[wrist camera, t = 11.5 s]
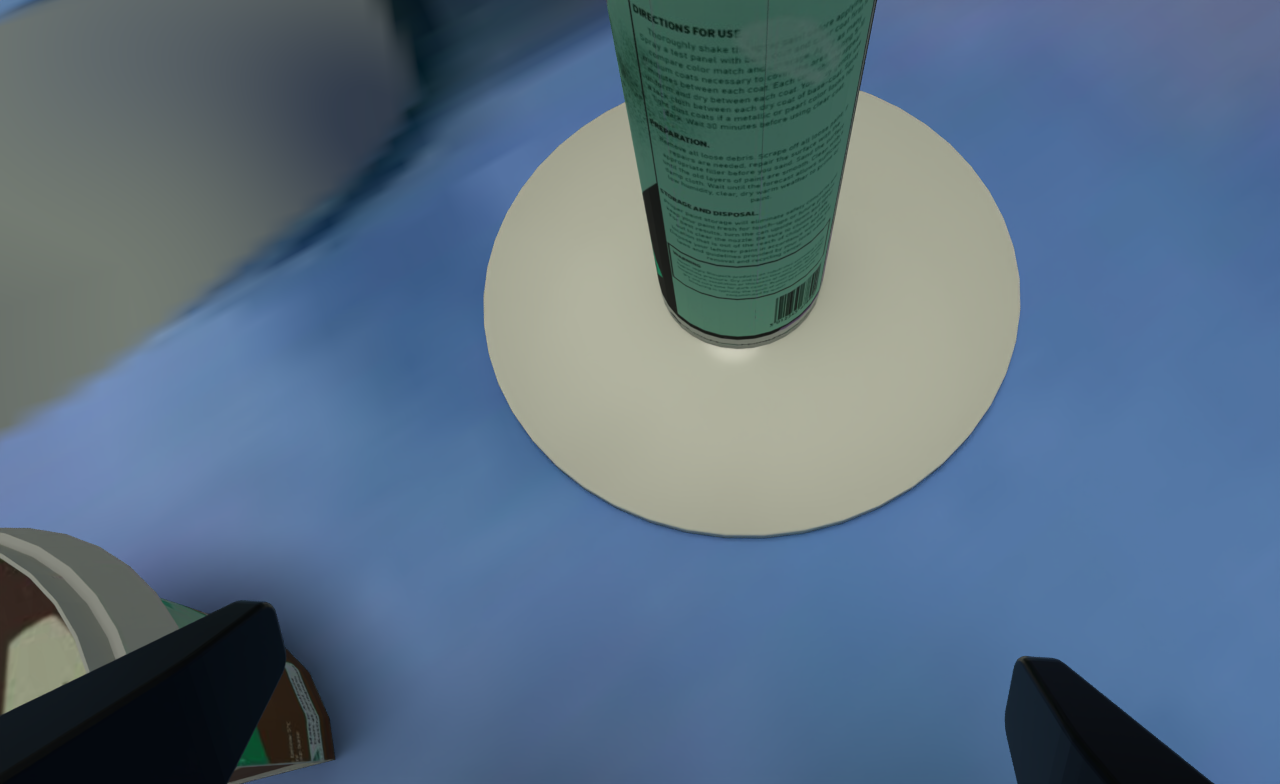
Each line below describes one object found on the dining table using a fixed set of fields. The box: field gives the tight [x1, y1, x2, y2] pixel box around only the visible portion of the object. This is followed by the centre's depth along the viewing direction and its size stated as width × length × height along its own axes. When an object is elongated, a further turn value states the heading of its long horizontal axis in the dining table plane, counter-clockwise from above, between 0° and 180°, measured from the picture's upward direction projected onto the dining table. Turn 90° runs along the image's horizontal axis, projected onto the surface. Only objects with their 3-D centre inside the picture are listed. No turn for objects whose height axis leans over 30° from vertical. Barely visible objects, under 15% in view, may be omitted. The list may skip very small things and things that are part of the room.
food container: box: [0, 528, 335, 784], centre depth 19 cm, size 12×6×10 cm, turn 103°
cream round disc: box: [484, 90, 1020, 538], centre depth 26 cm, size 18×18×1 cm
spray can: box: [606, 0, 877, 349], centre depth 17 cm, size 6×6×20 cm
